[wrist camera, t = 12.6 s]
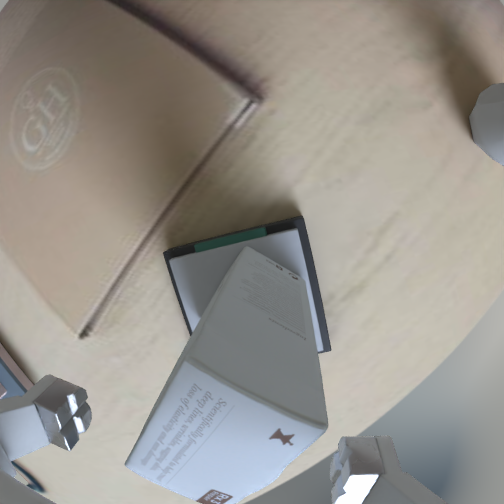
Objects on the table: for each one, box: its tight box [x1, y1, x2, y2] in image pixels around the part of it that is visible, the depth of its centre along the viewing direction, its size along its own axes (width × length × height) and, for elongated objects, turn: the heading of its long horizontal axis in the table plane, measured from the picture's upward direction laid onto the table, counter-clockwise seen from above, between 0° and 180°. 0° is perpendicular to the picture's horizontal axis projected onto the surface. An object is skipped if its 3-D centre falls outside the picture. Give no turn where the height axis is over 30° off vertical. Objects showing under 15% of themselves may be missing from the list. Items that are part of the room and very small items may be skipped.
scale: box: [163, 216, 331, 354], centre depth 20 cm, size 9×9×2 cm
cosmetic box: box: [125, 246, 328, 504], centre depth 13 cm, size 6×4×12 cm
